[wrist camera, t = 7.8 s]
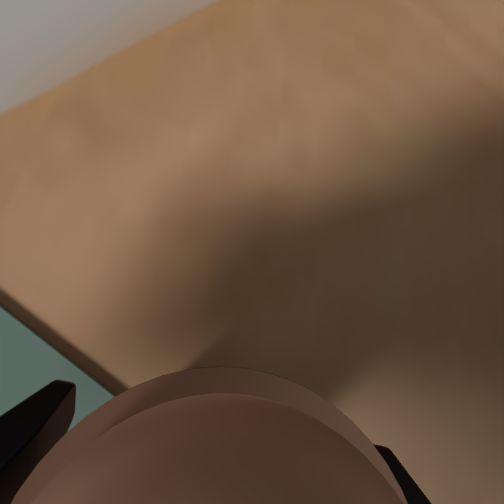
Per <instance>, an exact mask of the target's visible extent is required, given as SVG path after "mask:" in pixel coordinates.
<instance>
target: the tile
mask: <svg viewBox="0 0 504 504" xmlns="http://www.w3.org/2000/svg"><path fill="white" fill-rule="evenodd" d="M54 380H64V381H69V382H73V383H75V385H76V405H75V414H74V417H73V420H72V423H71V425H70V427H69V429H68V431H67V432H69V431H70V430H71V429H72V428H73V427H74V426H75V425H76V424H78V423H79V422H80V421H81V420H82V419H83V418H84V417H86V416H87V415H88V414H90V413H91V412H93V411H94V410H96V409H97V408H99V407H100V406H101V405H103V404H104V403H106V402H107V401H109V400H110V399H112V398H114V397H116V396H115V395H114V394H113V393H112V392H110V391H109V390H108V389H107V388H105V387H104V386H103V385H101V384H100V383H99V382H98V381H96V380H95V379H94V378H93V377H91V376H90V375H89V374H87V373H86V372H85V371H84V370H82V369H81V368H80V367H79V366H77V365H76V364H75V363H73V362H72V361H71V360H70V359H68V358H67V357H66V356H65V355H63V354H62V353H61V352H60V351H58V350H57V349H56V348H54V347H53V346H52V345H51V344H49V343H48V342H47V341H46V340H44V339H43V338H42V337H40V336H39V335H38V334H37V333H35V332H34V331H33V330H32V329H30V328H29V327H28V326H26V325H25V324H24V323H23V322H21V321H20V320H19V319H18V318H16V317H15V316H14V315H12V314H11V313H10V312H9V311H7V310H6V309H5V308H4V307H2V306H1V305H0V416H1V415H2V414H4V413H5V412H7V411H8V410H10V409H11V408H13V407H14V406H16V405H17V404H19V403H20V402H22V401H23V400H25V399H26V398H28V397H29V396H31V395H32V394H34V393H35V392H37V391H38V390H40V389H41V388H43V387H44V386H46V385H47V384H49V383H50V382H52V381H54Z"/></svg>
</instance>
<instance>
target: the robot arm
mask: <svg viewBox="0 0 504 504" xmlns="http://www.w3.org/2000/svg"><path fill="white" fill-rule="evenodd" d="M75 405H76V385H75V383H73V382H69V381H64V380H54V381H52V382H50V383H49V384H47V385H46V386H44V387H43V388H41V389H40V390H38V391H37V392H35V393H34V394H32V395H31V396H29V397H28V398H26V399H25V400H23V401H22V402H20V403H19V404H17V405H16V406H14V407H13V408H11V409H10V410H8V411H7V412H5V413H4V414H2V415H1V416H0V504H11V502H12V501H13V499H14V497H15V495H16V494H17V492H18V490H19V489H20V488H21V486H22V485H23V484H24V482H25V481H26V479H27V478H28V477H29V475H30V474H31V473H32V471H33V470H34V468H35V467H36V466H37V464H38V463H39V462H40V461H41V460H42V459H43V457H44V456H45V455H46V454H47V453H48V452H49V451H50V450H51V449H52V448H53V446H54V445H55V444H56V443H57V442H58V441H59V440H60V439H61V438H62V437H63V436H64V435H65V434H66V433H67V431H68V429H69V427H70V425H71V423H72V420H73V417H74V414H75ZM373 445H374V447H375V448H376V449H377V451H378V452H379V453H380V455H381V456H382V458H383V459H384V460H385V462H386V463H387V465H388V466H389V468H390V470H391V472H392V473H393V475H394V477H395V479H396V481H397V482H398V484H399V486H400V488H401V489H402V492H403V494H404V496H405V499H406V501H407V503H408V504H431V503H430V501H429V500H428V499H427V497H426V496H425V495H424V493H423V492H422V491H421V489H420V488H419V487H418V485H417V484H416V483H415V481H414V480H413V479H412V477H411V476H410V475H409V474H408V472H407V471H406V470H405V468H404V467H403V466H402V464H401V463H400V462H399V460H398V459H397V458H396V456H395V455H394V454H393V452H392V451H391V450H390V449H389V448H387V447H384V446H380V445H375V444H373Z"/></svg>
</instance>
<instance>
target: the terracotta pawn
mask: <svg viewBox="0 0 504 504" xmlns="http://www.w3.org/2000/svg"><path fill="white" fill-rule="evenodd" d="M11 504H408V503H407V501H406V499H405V496H404V494H403V492H402V489H401V488H400V486H399V484H398V482H397V481H396V479H395V477H394V475H393V473H392V472H391V470H390V468H389V466H388V465H387V463H386V462H385V460H384V459H383V458H382V456H381V455H380V453H379V452H378V451H377V449H376V448H375V447H374V445H373V444H372V442H371V441H370V440H369V439H368V438H367V437H366V436H365V435H364V433H363V432H362V431H361V430H360V429H359V428H358V427H357V426H356V425H355V424H354V423H353V421H351V420H350V419H349V418H348V417H347V416H345V415H344V414H343V413H342V412H341V411H340V410H338V409H337V408H336V407H335V406H334V405H333V404H331V403H329V402H328V401H326V400H325V399H323V398H322V397H320V396H319V395H317V394H316V393H314V392H313V391H311V390H309V389H307V388H305V387H303V386H301V385H298V384H296V383H294V382H292V381H290V380H288V379H285V378H282V377H279V376H275V375H272V374H269V373H266V372H262V371H256V370H250V369H244V368H236V367H207V368H197V369H188V370H184V371H180V372H175V373H171V374H167V375H163V376H160V377H157V378H155V379H152V380H149V381H147V382H144V383H142V384H139V385H136V386H134V387H132V388H131V389H129V390H127V391H125V392H123V393H121V394H119V395H117V396H116V397H114V398H112V399H110V400H109V401H107V402H106V403H104V404H103V405H101V406H100V407H99V408H97V409H96V410H94V411H93V412H91V413H90V414H88V415H87V416H86V417H84V418H83V419H82V420H81V421H80V422H79V423H78V424H76V425H75V426H74V427H73V428H72V429H71V430H70V431H69V432H67V433H66V434H65V435H64V436H63V437H62V438H61V439H60V440H59V441H58V442H57V443H56V444H55V445H54V446H53V448H52V449H51V450H50V451H49V452H48V453H47V454H46V455H45V456H44V457H43V459H42V460H41V461H40V462H39V463H38V464H37V466H36V467H35V468H34V470H33V471H32V473H31V474H30V475H29V477H28V478H27V479H26V481H25V482H24V484H23V485H22V486H21V488H20V489H19V490H18V492H17V494H16V495H15V497H14V499H13V501H12V502H11Z"/></svg>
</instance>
